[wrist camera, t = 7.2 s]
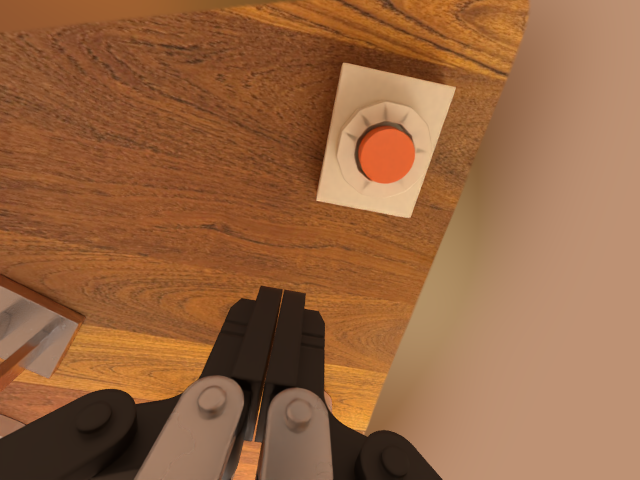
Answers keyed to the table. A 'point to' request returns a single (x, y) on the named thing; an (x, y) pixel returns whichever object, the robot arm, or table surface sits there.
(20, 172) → the table surface
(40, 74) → the table surface
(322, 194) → the block
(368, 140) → the power button
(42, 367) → the lever bracket
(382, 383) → the table surface
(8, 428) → the dish
